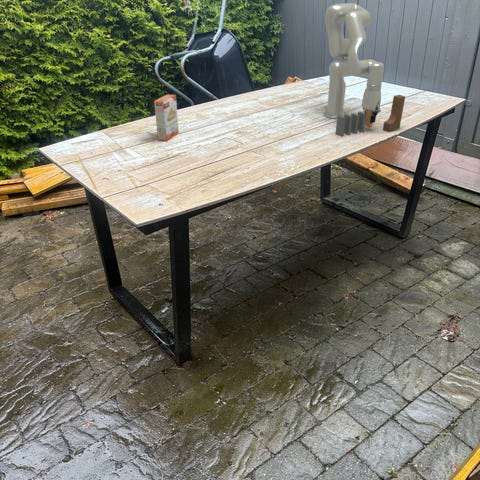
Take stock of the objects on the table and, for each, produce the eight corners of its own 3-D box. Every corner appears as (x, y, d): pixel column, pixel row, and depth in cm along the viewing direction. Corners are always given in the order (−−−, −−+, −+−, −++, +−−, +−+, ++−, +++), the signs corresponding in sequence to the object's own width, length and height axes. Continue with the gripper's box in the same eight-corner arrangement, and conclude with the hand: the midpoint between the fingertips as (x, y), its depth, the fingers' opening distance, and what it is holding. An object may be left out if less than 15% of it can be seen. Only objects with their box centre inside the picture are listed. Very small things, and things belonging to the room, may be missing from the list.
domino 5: (364, 125, 253) (366, 107, 248) (366, 124, 254) (368, 106, 248) (370, 127, 249) (372, 109, 244) (372, 127, 250) (374, 109, 244)
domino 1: (335, 133, 247) (337, 115, 242) (337, 133, 248) (339, 115, 243) (341, 136, 244) (343, 118, 238) (343, 135, 244) (345, 117, 239)
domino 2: (342, 132, 249) (344, 114, 244) (344, 131, 250) (346, 113, 244) (347, 135, 245) (350, 116, 240) (350, 134, 246) (352, 116, 240)
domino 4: (355, 129, 252) (357, 111, 247) (357, 129, 253) (360, 111, 247) (361, 132, 248) (363, 114, 243) (363, 132, 249) (366, 114, 244)
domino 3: (348, 131, 251) (351, 113, 245) (351, 130, 251) (353, 112, 246) (354, 133, 247) (357, 115, 241) (357, 133, 247) (359, 115, 242)
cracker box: (167, 141, 240) (163, 101, 229) (157, 140, 242) (153, 100, 230) (179, 133, 251) (176, 94, 240) (169, 131, 253) (166, 93, 241)
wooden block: (388, 132, 249) (394, 98, 239) (382, 129, 252) (387, 97, 242) (399, 128, 253) (405, 96, 243) (393, 126, 256) (399, 94, 246)
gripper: (357, 84, 245) (353, 118, 255) (378, 91, 232) (373, 126, 242) (368, 83, 248) (364, 116, 258) (390, 90, 235) (384, 124, 245)
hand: (369, 120), depth 250 cm, fingers closed on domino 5, 4 cm apart
